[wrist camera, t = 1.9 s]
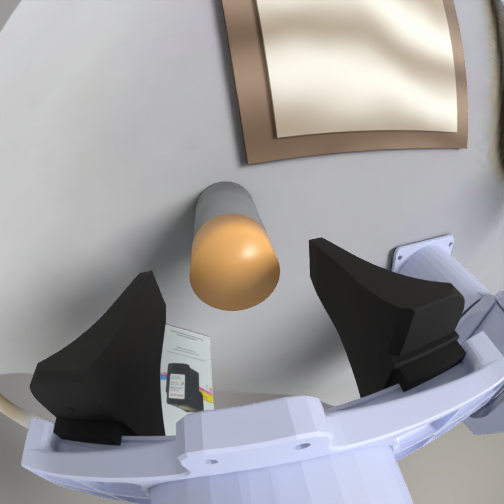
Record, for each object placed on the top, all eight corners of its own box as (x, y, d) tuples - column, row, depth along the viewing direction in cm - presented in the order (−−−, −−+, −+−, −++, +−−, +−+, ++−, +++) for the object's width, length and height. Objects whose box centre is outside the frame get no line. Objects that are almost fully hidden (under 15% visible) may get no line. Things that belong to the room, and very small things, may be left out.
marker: (257, 229, 20) (282, 301, 14) (202, 240, 20) (201, 317, 13) (249, 176, 18) (275, 227, 11) (190, 188, 18) (179, 246, 11)
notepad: (462, 146, 19) (469, 149, 18) (247, 162, 18) (249, 165, 17) (445, -10, 10) (451, -12, 10) (213, -47, 9) (213, -53, 9)
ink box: (184, 382, 29) (186, 478, 19) (142, 372, 27) (134, 470, 17) (212, 335, 25) (221, 455, 15) (161, 321, 24) (150, 445, 14)
